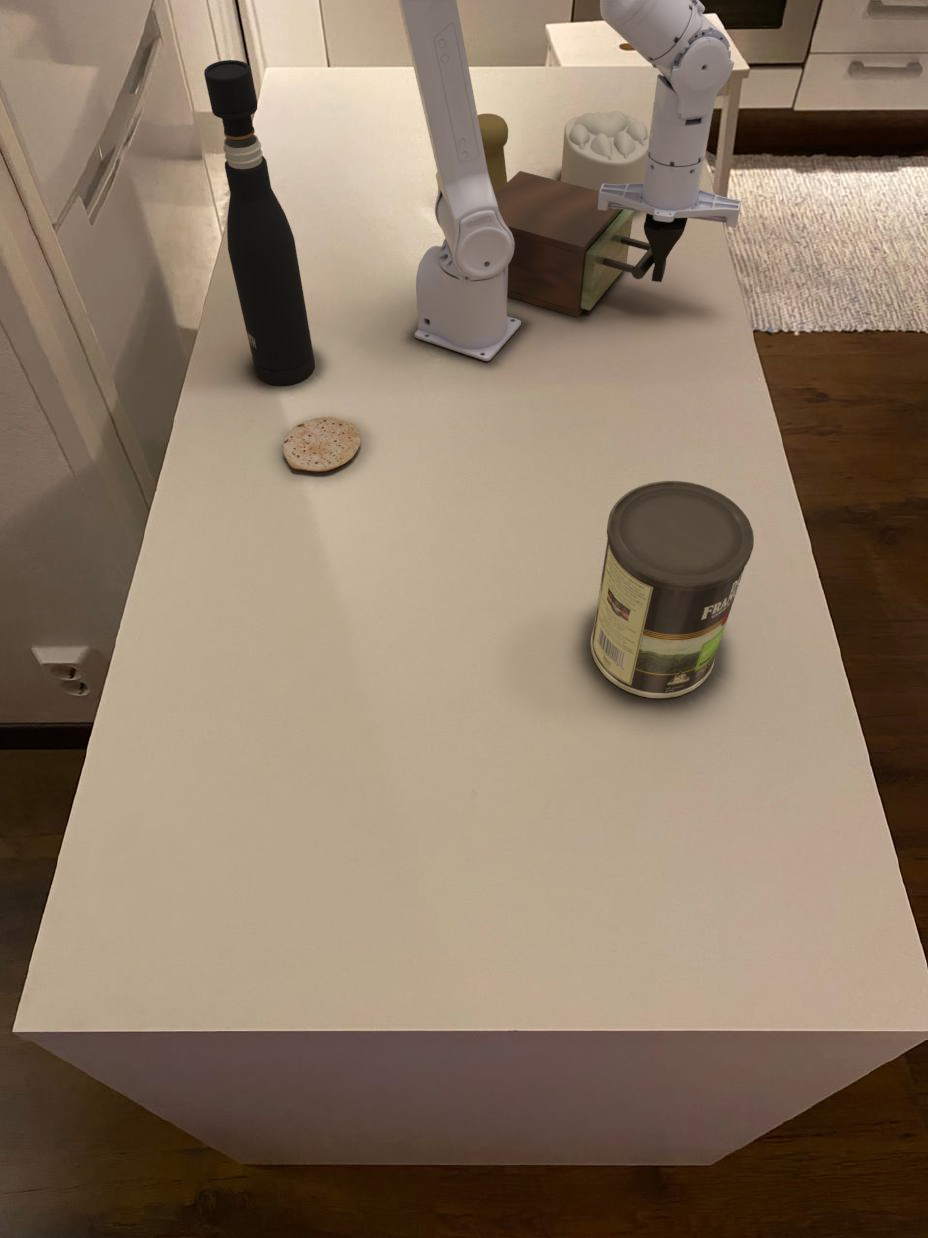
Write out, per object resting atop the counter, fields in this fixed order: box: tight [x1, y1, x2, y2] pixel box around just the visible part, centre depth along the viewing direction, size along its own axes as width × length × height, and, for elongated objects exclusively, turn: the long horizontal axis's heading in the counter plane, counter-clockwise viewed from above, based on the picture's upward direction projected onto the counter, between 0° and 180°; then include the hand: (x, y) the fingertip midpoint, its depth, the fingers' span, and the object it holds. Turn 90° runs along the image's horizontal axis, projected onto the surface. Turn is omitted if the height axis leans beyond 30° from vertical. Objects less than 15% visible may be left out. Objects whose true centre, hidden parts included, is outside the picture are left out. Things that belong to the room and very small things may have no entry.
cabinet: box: [495, 170, 623, 318], centre depth 109 cm, size 14×12×9 cm
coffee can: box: [590, 480, 755, 699], centre depth 73 cm, size 10×10×14 cm
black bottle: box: [203, 59, 316, 387], centre depth 90 cm, size 6×6×30 cm
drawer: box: [580, 210, 654, 311], centre depth 108 cm, size 17×10×7 cm, turn 61°
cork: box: [477, 113, 509, 194], centre depth 118 cm, size 6×6×11 cm
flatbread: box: [282, 416, 362, 472], centre depth 93 cm, size 8×8×1 cm
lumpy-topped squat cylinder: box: [560, 110, 650, 213], centre depth 121 cm, size 10×13×9 cm
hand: (657, 276), depth 105 cm, fingers closed, pressing on drawer
